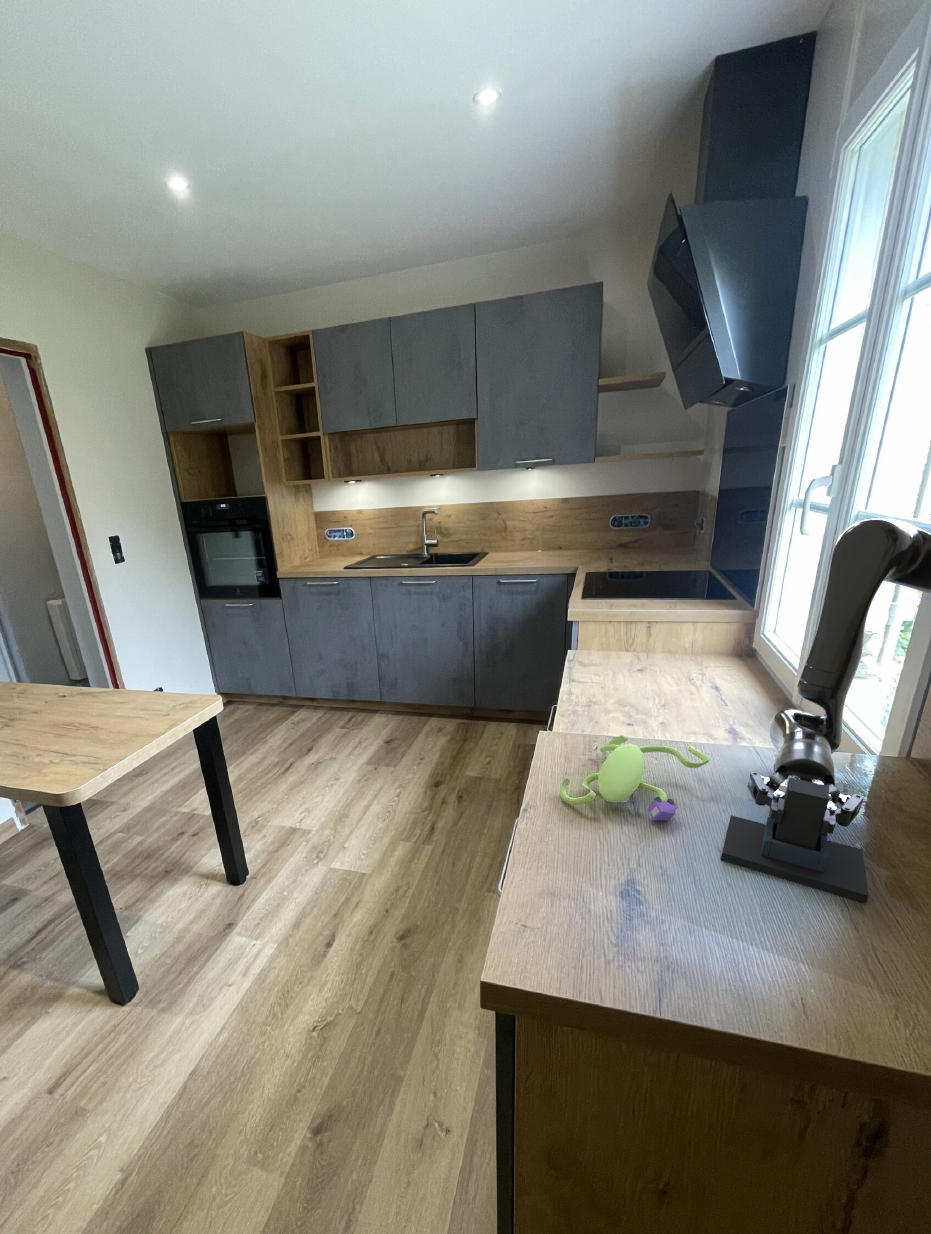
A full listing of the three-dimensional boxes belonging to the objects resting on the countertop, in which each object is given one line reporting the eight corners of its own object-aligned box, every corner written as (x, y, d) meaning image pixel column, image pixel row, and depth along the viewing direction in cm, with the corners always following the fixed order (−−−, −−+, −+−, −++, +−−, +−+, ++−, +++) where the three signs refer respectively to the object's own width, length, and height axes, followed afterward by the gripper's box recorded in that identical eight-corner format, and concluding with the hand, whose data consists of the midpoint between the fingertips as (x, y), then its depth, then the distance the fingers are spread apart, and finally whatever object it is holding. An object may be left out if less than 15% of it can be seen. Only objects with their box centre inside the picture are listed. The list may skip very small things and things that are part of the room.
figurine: (712, 772, 99) (717, 744, 97) (664, 842, 81) (670, 810, 79) (611, 745, 111) (614, 719, 109) (549, 801, 92) (551, 771, 90)
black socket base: (860, 856, 77) (867, 834, 75) (865, 903, 68) (874, 879, 67) (729, 821, 85) (734, 801, 84) (720, 859, 77) (725, 837, 76)
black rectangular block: (810, 848, 77) (829, 785, 73) (810, 863, 74) (829, 799, 70) (773, 838, 79) (789, 777, 76) (771, 852, 76) (788, 790, 72)
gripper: (754, 737, 88) (744, 784, 75) (869, 759, 80) (879, 815, 67) (745, 779, 90) (733, 830, 77) (854, 804, 83) (862, 866, 70)
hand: (801, 823), depth 72 cm, fingers closed on black rectangular block, 4 cm apart
